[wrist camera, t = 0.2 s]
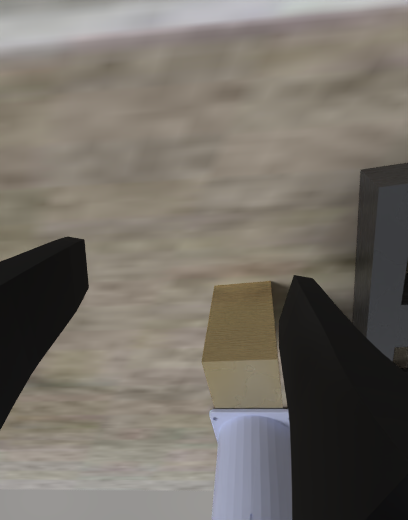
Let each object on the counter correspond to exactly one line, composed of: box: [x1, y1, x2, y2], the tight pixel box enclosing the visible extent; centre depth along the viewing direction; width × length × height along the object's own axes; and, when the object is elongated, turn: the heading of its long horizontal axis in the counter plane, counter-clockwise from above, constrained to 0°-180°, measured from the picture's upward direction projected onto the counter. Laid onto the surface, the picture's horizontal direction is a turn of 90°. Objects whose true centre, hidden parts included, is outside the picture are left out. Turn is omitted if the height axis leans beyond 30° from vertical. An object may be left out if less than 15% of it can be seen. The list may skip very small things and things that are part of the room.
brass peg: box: [202, 281, 283, 408], centre depth 21 cm, size 4×4×7 cm
